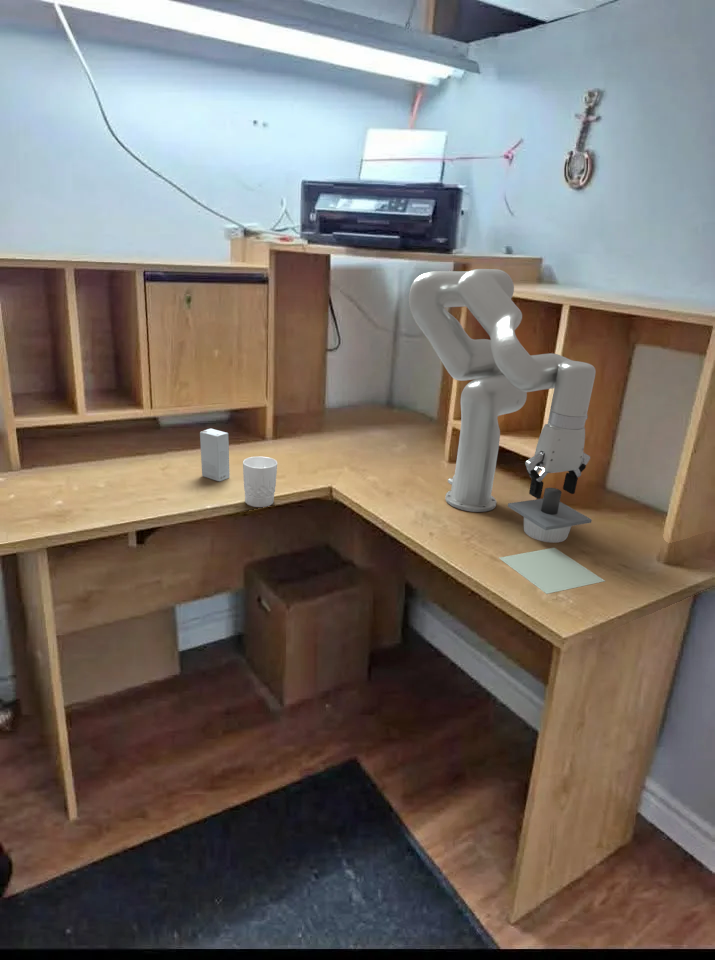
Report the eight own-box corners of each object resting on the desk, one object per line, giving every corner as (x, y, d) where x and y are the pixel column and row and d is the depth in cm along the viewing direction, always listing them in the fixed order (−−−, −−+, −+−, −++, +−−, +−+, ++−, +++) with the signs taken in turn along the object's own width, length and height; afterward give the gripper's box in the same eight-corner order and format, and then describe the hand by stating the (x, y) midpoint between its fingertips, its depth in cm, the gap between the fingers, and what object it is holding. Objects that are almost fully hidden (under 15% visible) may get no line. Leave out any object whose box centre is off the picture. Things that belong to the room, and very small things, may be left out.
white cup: (266, 511, 153) (266, 470, 149) (236, 504, 155) (236, 463, 152) (282, 499, 160) (283, 460, 156) (253, 492, 162) (253, 454, 159)
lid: (507, 506, 152) (511, 483, 150) (551, 500, 158) (555, 477, 156) (545, 530, 142) (550, 505, 139) (591, 522, 147) (596, 498, 145)
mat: (498, 559, 138) (498, 557, 138) (553, 549, 145) (554, 547, 145) (546, 596, 126) (546, 593, 126) (604, 583, 132) (605, 580, 132)
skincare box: (230, 477, 170) (230, 432, 166) (218, 482, 167) (218, 436, 162) (212, 471, 173) (211, 427, 169) (200, 476, 169) (199, 431, 165)
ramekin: (531, 547, 146) (535, 525, 144) (512, 524, 156) (516, 504, 154) (578, 546, 147) (583, 525, 146) (557, 524, 158) (561, 504, 156)
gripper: (584, 413, 148) (569, 484, 155) (523, 417, 141) (510, 491, 147) (609, 423, 142) (593, 496, 149) (546, 428, 135) (532, 505, 141)
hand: (551, 494), depth 148 cm, fingers open, 9 cm apart
